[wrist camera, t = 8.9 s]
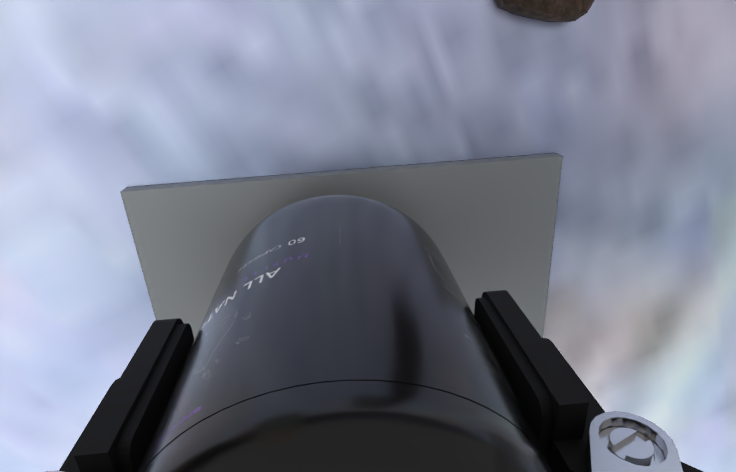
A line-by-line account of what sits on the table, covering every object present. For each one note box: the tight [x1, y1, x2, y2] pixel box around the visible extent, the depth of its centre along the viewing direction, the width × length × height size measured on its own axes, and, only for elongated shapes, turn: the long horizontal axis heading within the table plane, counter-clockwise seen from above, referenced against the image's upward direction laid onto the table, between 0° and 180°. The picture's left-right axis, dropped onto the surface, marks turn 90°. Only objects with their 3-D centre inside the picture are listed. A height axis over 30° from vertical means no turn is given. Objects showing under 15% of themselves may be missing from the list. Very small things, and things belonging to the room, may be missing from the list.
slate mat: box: [121, 153, 563, 340], centre depth 21 cm, size 17×17×1 cm
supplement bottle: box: [138, 195, 554, 472], centre depth 9 cm, size 7×7×12 cm
